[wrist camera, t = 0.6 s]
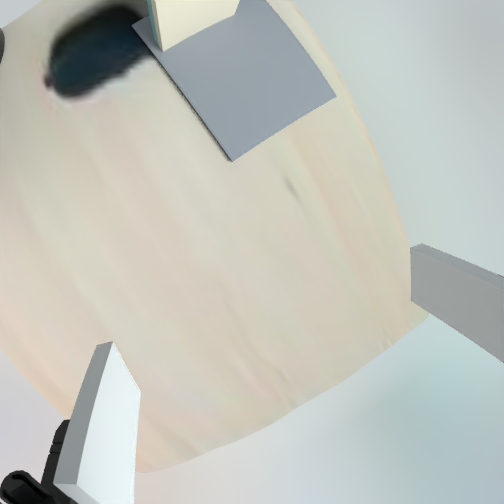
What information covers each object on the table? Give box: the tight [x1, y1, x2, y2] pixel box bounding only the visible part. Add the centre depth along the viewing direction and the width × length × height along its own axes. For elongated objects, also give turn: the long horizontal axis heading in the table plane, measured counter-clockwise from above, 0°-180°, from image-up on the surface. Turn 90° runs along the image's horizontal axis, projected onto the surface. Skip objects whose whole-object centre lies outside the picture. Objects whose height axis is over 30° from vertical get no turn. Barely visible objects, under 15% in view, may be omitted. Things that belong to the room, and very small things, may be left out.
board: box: [147, 0, 240, 52], centre depth 22 cm, size 2×10×12 cm, turn 124°
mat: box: [132, 0, 337, 162], centre depth 30 cm, size 22×16×1 cm
